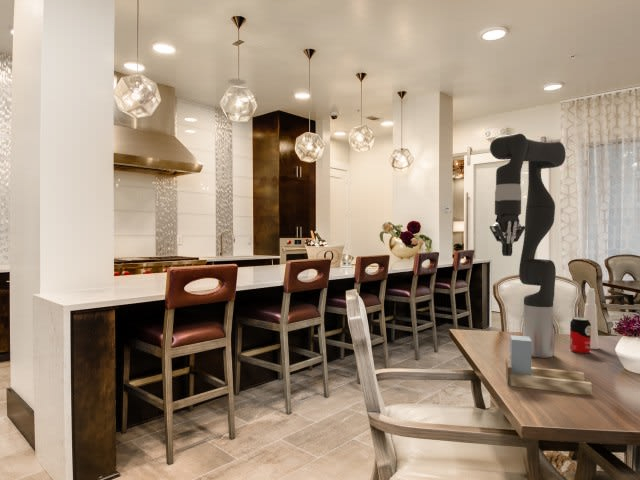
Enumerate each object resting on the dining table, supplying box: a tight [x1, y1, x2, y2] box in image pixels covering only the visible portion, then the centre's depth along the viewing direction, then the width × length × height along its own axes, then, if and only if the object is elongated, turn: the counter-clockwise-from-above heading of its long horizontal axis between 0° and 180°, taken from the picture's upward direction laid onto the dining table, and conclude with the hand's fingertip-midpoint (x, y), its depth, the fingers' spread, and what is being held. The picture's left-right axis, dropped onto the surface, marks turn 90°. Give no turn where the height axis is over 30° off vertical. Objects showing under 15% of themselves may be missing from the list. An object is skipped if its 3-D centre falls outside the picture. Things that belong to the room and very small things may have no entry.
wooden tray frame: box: [505, 357, 593, 396], centre depth 122 cm, size 20×10×5 cm, turn 70°
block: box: [509, 334, 532, 375], centre depth 124 cm, size 5×6×11 cm
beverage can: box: [569, 316, 591, 354], centre depth 158 cm, size 6×6×12 cm
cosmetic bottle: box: [583, 287, 601, 350], centre depth 165 cm, size 6×6×22 cm
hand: (507, 255), depth 136 cm, fingers closed
